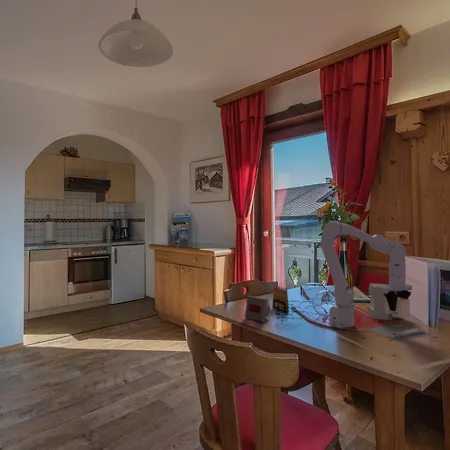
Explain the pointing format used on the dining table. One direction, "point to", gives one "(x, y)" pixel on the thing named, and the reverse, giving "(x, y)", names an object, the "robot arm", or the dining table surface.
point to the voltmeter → (262, 309)
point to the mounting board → (397, 328)
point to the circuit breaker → (378, 302)
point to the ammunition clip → (280, 299)
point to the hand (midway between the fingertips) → (397, 309)
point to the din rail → (406, 333)
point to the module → (399, 307)
